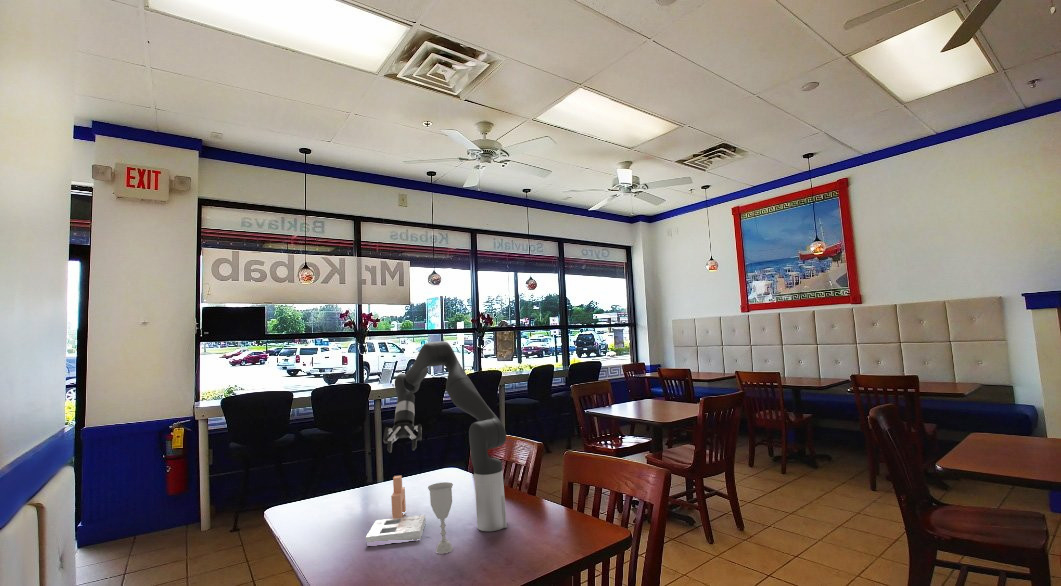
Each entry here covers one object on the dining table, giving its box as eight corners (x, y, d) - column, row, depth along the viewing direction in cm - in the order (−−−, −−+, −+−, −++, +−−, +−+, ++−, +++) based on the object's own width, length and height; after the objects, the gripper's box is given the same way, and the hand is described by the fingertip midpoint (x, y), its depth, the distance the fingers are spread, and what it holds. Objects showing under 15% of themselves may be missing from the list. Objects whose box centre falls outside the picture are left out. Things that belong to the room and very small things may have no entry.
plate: (425, 524, 164) (425, 514, 164) (420, 540, 150) (419, 530, 150) (376, 529, 162) (375, 520, 162) (366, 547, 148) (365, 537, 148)
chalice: (459, 544, 145) (455, 481, 146) (453, 554, 138) (449, 488, 140) (435, 545, 145) (431, 483, 147) (428, 555, 139) (424, 490, 140)
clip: (406, 512, 176) (403, 472, 178) (401, 522, 167) (399, 480, 168) (397, 513, 176) (395, 473, 177) (392, 523, 167) (390, 481, 168)
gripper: (384, 410, 194) (380, 446, 182) (421, 407, 195) (419, 442, 183) (388, 422, 199) (384, 458, 186) (423, 419, 200) (422, 454, 188)
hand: (401, 450), depth 185 cm, fingers open, 8 cm apart
